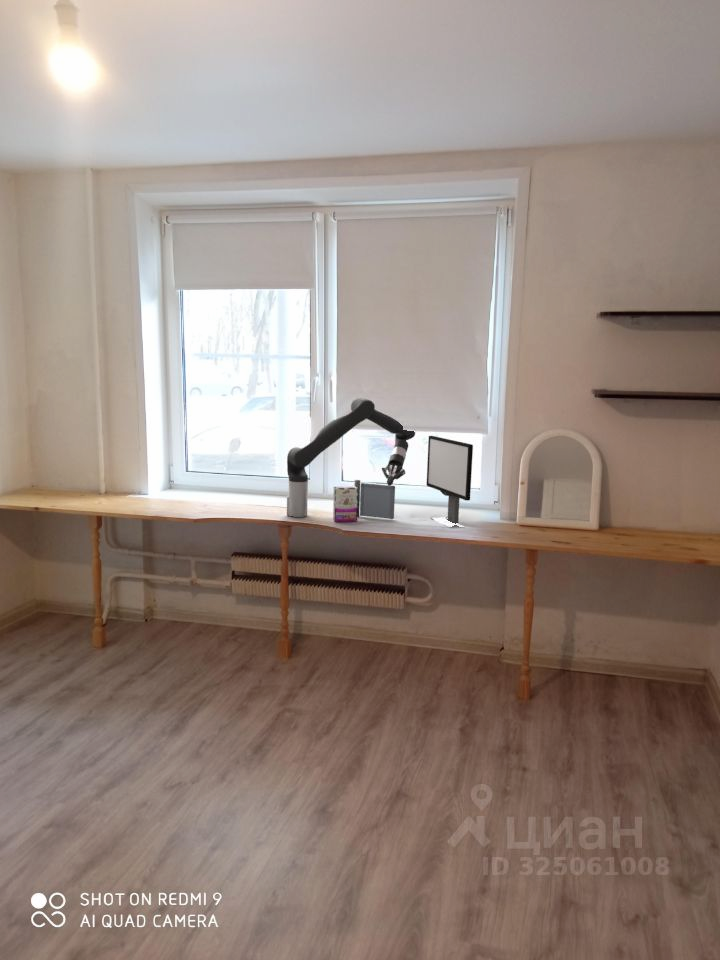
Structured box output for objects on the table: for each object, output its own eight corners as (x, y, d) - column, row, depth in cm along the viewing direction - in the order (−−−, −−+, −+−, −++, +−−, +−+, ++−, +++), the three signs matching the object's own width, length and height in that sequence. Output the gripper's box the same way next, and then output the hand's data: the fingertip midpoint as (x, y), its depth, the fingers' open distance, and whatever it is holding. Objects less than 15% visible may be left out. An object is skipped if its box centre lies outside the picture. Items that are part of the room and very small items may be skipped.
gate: (359, 515, 341) (360, 483, 338) (361, 515, 342) (362, 482, 340) (392, 519, 335) (393, 486, 332) (393, 518, 336) (395, 485, 334)
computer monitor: (421, 514, 352) (424, 435, 346) (436, 513, 355) (439, 435, 349) (460, 533, 314) (465, 444, 308) (476, 532, 317) (481, 444, 311)
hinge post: (352, 516, 342) (353, 480, 339) (354, 515, 344) (355, 479, 342) (357, 517, 341) (359, 481, 338) (360, 516, 343) (361, 480, 340)
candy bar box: (355, 519, 335) (356, 486, 333) (357, 521, 331) (358, 487, 328) (332, 519, 333) (333, 486, 331) (334, 522, 328) (335, 488, 326)
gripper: (384, 452, 358) (375, 478, 348) (408, 454, 353) (400, 481, 344) (386, 461, 364) (378, 487, 354) (411, 463, 359) (403, 490, 350)
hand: (389, 484), depth 349 cm, fingers closed
